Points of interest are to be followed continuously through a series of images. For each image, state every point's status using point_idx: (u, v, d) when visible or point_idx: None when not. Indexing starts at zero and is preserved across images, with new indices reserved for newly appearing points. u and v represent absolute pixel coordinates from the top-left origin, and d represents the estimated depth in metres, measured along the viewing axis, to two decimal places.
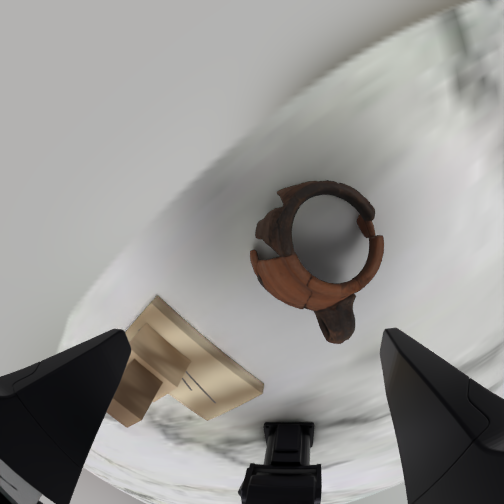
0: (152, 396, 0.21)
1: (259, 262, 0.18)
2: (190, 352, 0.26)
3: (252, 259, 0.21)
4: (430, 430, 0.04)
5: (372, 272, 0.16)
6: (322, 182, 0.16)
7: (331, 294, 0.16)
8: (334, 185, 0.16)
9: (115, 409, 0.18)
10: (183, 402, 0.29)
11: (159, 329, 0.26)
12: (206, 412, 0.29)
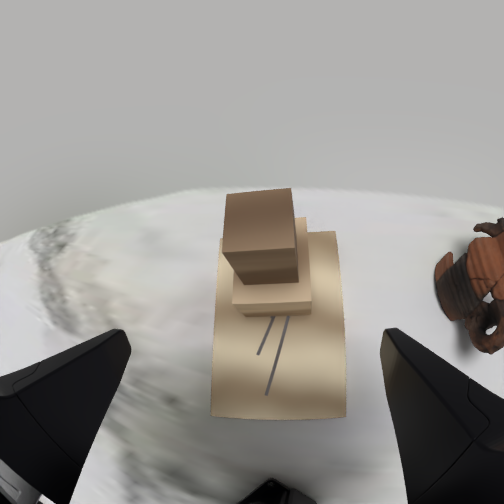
0: None
1: (476, 238, 0.16)
2: (322, 304, 0.20)
3: (449, 256, 0.19)
4: (430, 430, 0.04)
5: None
6: None
7: None
8: None
9: (262, 213, 0.14)
10: (217, 365, 0.20)
11: (314, 258, 0.22)
12: (231, 402, 0.18)
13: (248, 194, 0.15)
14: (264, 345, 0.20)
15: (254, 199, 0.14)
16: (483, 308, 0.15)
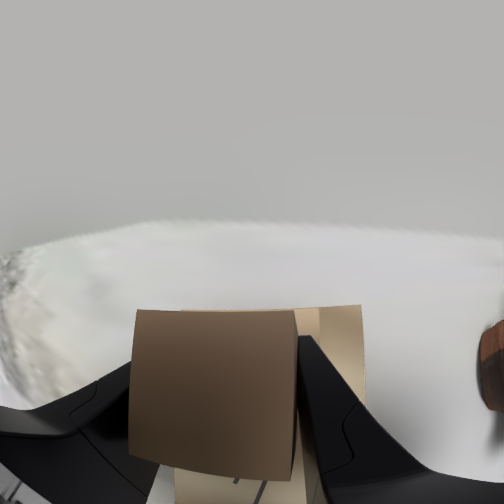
0: (296, 441, 0.06)
1: None
2: None
3: (503, 328, 0.10)
4: (307, 448, 0.04)
5: None
6: None
7: None
8: None
9: (214, 382, 0.05)
10: (181, 486, 0.11)
11: (327, 352, 0.13)
12: None
13: (183, 319, 0.06)
14: None
15: (196, 336, 0.05)
16: None
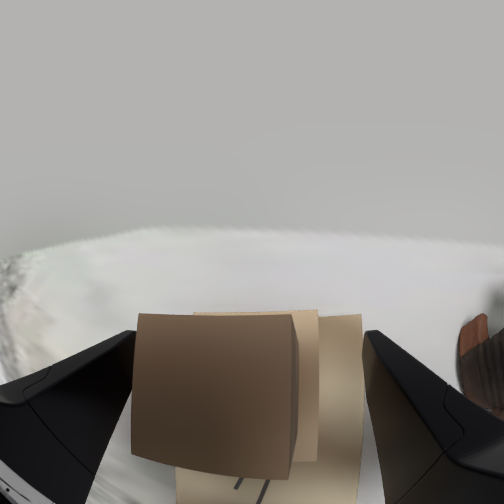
0: (295, 441, 0.06)
1: None
2: (332, 432, 0.11)
3: (482, 321, 0.11)
4: (404, 436, 0.04)
5: None
6: None
7: None
8: None
9: (214, 384, 0.05)
10: (182, 491, 0.11)
11: (326, 361, 0.13)
12: None
13: (184, 322, 0.06)
14: (244, 479, 0.11)
15: (196, 339, 0.05)
16: None
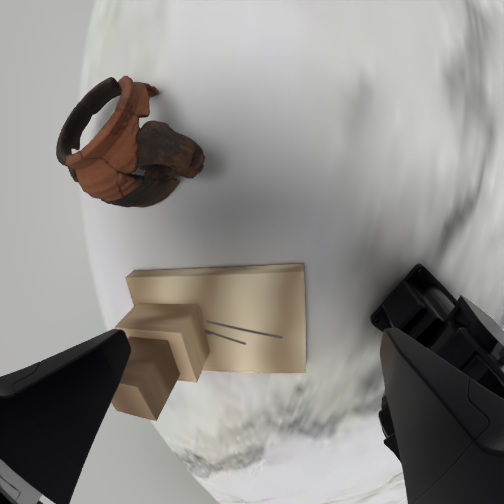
0: (153, 358, 0.17)
1: (83, 190, 0.16)
2: (193, 293, 0.22)
3: None
4: (430, 430, 0.04)
5: (125, 94, 0.13)
6: None
7: (99, 140, 0.13)
8: (78, 104, 0.15)
9: (121, 396, 0.15)
10: (259, 369, 0.23)
11: (153, 297, 0.22)
12: (291, 360, 0.22)
13: None
14: (236, 339, 0.22)
15: (113, 398, 0.15)
16: (152, 171, 0.16)
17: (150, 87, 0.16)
